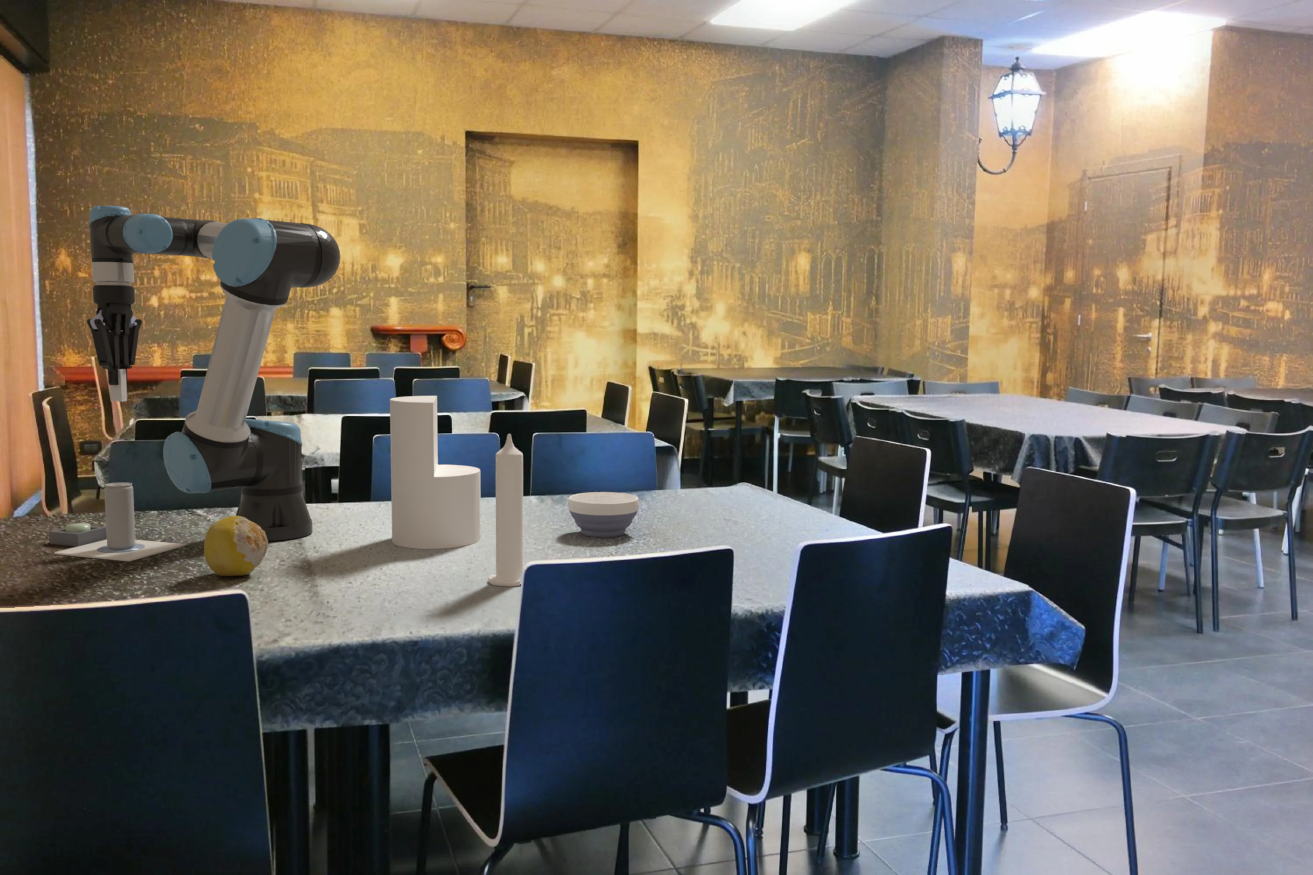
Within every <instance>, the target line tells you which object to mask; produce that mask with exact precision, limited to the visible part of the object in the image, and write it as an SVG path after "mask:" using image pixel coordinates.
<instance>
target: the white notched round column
mask: <svg viewBox="0 0 1313 875" xmlns="http://www.w3.org/2000/svg"><path fill="white" fill-rule="evenodd" d="M389 421H390V422H389V425H390V430H389V431H390V480H391V482H390V485H391V486H390V491H391V494H390V495H391V496H390V498H391V542H392V544H394V545H396V546H399V547H402V548H403V547H404V548H409V549H419V550H420V549H421V550H423V549H424V550H436V549H437V550H439V549H452V548H461V547H466V546H469V545H474V544H477V543H478V542H480V541H481V539H482V532H481V530H482V527H481V526H482V524H481V522H482V521H481V518H482V516H481V515H482V513H481V511H482V510H481V504H482V503H481V500H482V499H481V496H482V495H481V489H482V488H481V469H480V468H479V467H475V466H470V465H460V464H459V465H458V464H439V458H438V457H439V453H438V452H439V451H438V448H439V446H438V445H439V444H438V439H439V438H438V395H412V396H411V395H410V396H398V397H392V398H389Z"/></svg>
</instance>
